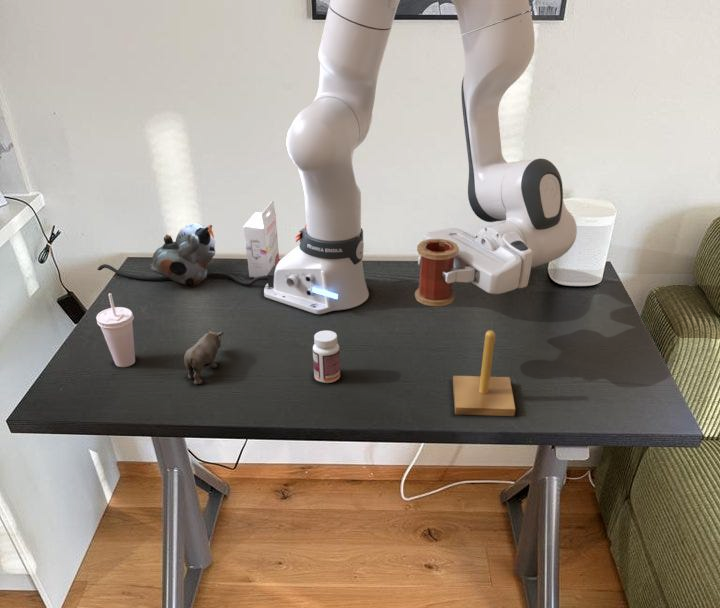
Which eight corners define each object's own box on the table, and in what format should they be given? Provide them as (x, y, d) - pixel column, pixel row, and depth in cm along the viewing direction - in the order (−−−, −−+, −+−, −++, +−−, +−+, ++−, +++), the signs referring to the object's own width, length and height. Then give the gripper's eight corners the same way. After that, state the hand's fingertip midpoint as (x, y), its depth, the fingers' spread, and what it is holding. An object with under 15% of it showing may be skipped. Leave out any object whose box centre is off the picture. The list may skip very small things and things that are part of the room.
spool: (410, 302, 129) (412, 251, 123) (422, 285, 134) (425, 236, 128) (447, 309, 127) (451, 257, 121) (458, 292, 132) (463, 242, 126)
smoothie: (112, 374, 139) (94, 304, 130) (103, 358, 143) (86, 289, 134) (146, 365, 141) (131, 296, 132) (137, 349, 146) (122, 281, 137)
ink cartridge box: (259, 261, 176) (253, 197, 167) (280, 263, 175) (275, 199, 166) (247, 277, 170) (241, 212, 160) (269, 279, 169) (263, 214, 159)
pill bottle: (343, 372, 139) (343, 331, 134) (334, 385, 136) (333, 344, 131) (319, 367, 141) (318, 327, 135) (310, 381, 137) (307, 339, 132)
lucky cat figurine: (160, 262, 176) (181, 204, 170) (209, 285, 177) (230, 228, 172) (139, 271, 162) (160, 209, 157) (191, 296, 163) (214, 235, 158)
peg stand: (454, 414, 129) (461, 345, 120) (452, 382, 137) (458, 315, 128) (514, 416, 129) (525, 347, 120) (508, 384, 136) (518, 316, 128)
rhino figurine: (233, 348, 146) (230, 320, 142) (202, 386, 136) (198, 357, 132) (213, 345, 147) (209, 317, 143) (181, 383, 137) (176, 353, 133)
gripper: (461, 214, 137) (398, 230, 131) (539, 254, 124) (471, 274, 118) (458, 248, 141) (396, 265, 136) (533, 290, 128) (468, 311, 122)
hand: (432, 269), depth 127 cm, fingers closed on spool, 5 cm apart
